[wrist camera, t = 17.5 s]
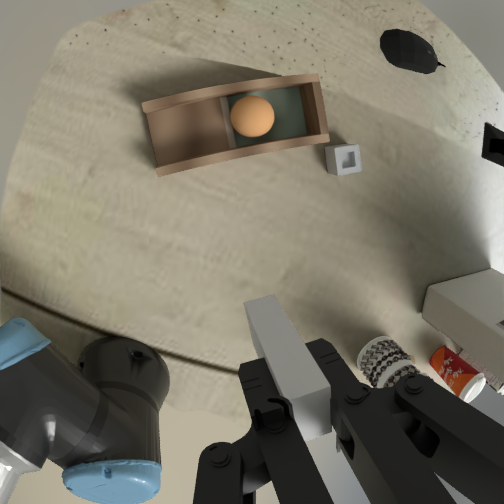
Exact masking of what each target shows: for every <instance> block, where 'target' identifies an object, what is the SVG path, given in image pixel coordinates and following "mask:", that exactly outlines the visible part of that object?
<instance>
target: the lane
mask: <svg viewBox="0 0 504 504" xmlns="http://www.w3.org/2000/svg"><path fill="white" fill-rule="evenodd" d="M251 95H253V96H259V97H262V98H264V99H265V100H267V101H268V102H269V103H270V105H271V106H272V108H273V111H274V123H273V125H272V127H271V128H270V130H269V131H268V132H267V133H265V134H264V135H262V136H259V137H246V136H243V135H241V134H240V133H238V132H237V131H236V130H235V129H234V127H233V125H232V123H231V117H230V115H231V110H232V108H233V106H234V104H235V103H236V102H237V101H238V100H240V99H241V98H243V97H246V96H251ZM142 108H143V112H144V113H146V115H147V120H148V124H149V129H150V134H151V138H152V143H153V147H154V152H155V156H156V161H157V165H158V166H157V167H156V172H157V176H158V177H161V176H164V175H168V174H172V173H176V172H180V171H184V170H188V169H192V168H196V167H200V166H205V165H209V164H213V163H218V162H222V161H227V160H231V159H236V158H241V157H245V156H250V155H255V154H261V153H266V152H271V151H276V150H282V149H288V148H293V147H299V146H305V145H312V144H318V143H325V142H330V139H329V132H328V126H327V120H326V114H325V108H324V102H323V96H322V91H321V86H320V80H319V75H318V74H303V75H291V76H281V77H272V78H264V79H256V80H249V81H242V82H236V83H229V84H223V85H218V86H212V87H207V88H202V89H197V90H192V91H188V92H183V93H179V94H174V95H170V96H166V97H162V98H158V99H154V100H150V101H146V102H143V103H142Z"/></svg>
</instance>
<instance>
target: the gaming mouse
mask: <svg viewBox="0 0 504 504" xmlns="http://www.w3.org/2000/svg"><path fill="white" fill-rule="evenodd" d="M380 48H381V50H382V52H383V54H384V56H385V57H386V59H387V61H388V62H389V63H391V64H393V65H394V66H396V67H399V68H403V69H407V70H412V71H415V72H419V73H424V74H430V73H433V72H435V70H436V68H437V66H438V65H439V66H440V65H441V66H444V67H446V66H445V65H443V64H441V63H440V62H438V60H437V55H436V54H435V52H434V49H433V47H432V46H431V45H430V44H429V43H428V42H427V41H426V40H424V39H423V38H421V37H420V36H418V35H416V34H414V33H412V32H410V31H404V30H400V29H392V30H385V31H384V33H383V34H382V36H381V37H380Z"/></svg>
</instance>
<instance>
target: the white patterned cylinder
mask: <svg viewBox="0 0 504 504" xmlns="http://www.w3.org/2000/svg"><path fill="white" fill-rule="evenodd" d="M357 366H358V368H359V369H360V370H361V371H363V375H364V376H367V378H366V379H367V380H369V382H370V383H371V385H372V386H373V387H374V388H385V387H391V386H396V384H397V381H398V380H399V379H400V378H401V377H402V376H404V375H406V374H410V373H418V374H422V375H424V376H426V377H428V378H429V379H430V377H429V376H427V374H426V373H421V372H420V371H419V370H418V369H417V367H416V366H415V364H414V363H413V361H412V358H410V357H409V356H408V355H407V353H404V351H403V350H402V348H401V347H399V345H398V344H397V343H396V342H395V341H393V340H392V339H391V338H390V337H388V336H379V337H376V338H374V339H373V340H371V341H369V342H368V343H367V344H366V345H365V346H364V347H363V348H362V350H361V351H360V353H359V354H358V358H357ZM431 380H432V381H434V380H433V379H431Z"/></svg>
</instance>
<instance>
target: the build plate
mask: <svg viewBox="0 0 504 504" xmlns="http://www.w3.org/2000/svg"><path fill="white" fill-rule="evenodd" d="M481 157H482V158H484V159H487V160H489V161H491V162H494V163H496V164H498V165H501V166H503V167H504V132H503V131H501V130H499V129H497V128H495V127H494V126H492V125H491V124H490V123H488V122H486V123H485V126H484V137H483V147H482V155H481Z"/></svg>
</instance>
